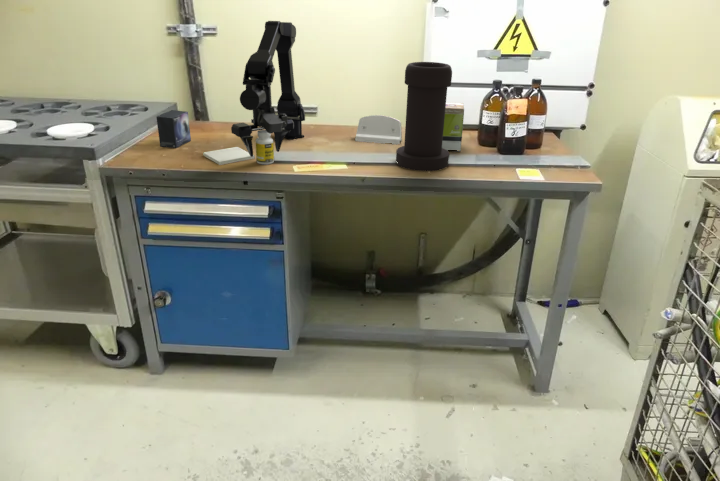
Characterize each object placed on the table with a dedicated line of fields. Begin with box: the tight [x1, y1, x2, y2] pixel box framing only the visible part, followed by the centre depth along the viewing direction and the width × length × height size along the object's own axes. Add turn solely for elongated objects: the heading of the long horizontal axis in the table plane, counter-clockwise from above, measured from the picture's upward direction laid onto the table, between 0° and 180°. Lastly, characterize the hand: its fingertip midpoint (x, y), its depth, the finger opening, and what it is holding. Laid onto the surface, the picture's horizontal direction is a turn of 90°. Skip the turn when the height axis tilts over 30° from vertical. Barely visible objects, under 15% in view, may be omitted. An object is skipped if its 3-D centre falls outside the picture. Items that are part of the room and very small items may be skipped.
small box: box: [155, 109, 192, 149], centre depth 181 cm, size 11×6×10 cm, turn 168°
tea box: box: [442, 102, 465, 152], centre depth 183 cm, size 15×10×15 cm
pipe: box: [395, 61, 453, 172], centre depth 163 cm, size 16×16×30 cm
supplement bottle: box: [255, 129, 275, 166], centre depth 164 cm, size 5×5×10 cm
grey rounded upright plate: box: [354, 114, 403, 145], centre depth 191 cm, size 17×5×10 cm, turn 78°
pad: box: [202, 146, 256, 166], centre depth 170 cm, size 12×12×1 cm
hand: (264, 153), depth 166 cm, fingers open, 9 cm apart
